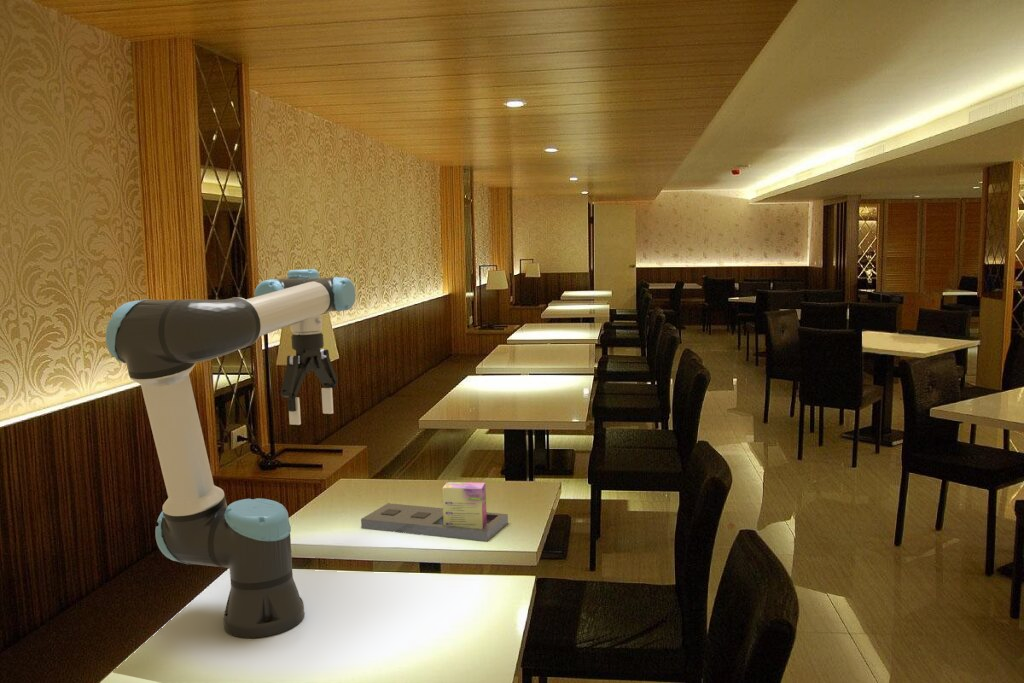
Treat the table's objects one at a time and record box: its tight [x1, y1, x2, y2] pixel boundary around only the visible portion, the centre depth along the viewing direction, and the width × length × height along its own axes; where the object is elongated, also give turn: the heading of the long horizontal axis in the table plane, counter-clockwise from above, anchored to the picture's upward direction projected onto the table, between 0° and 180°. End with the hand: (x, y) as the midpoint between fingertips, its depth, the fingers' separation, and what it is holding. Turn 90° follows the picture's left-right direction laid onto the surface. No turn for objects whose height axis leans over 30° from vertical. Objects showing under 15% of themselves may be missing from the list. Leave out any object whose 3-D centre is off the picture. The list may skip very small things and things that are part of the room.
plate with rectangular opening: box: [360, 502, 509, 542], centre depth 210 cm, size 14×36×3 cm, turn 69°
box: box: [441, 481, 488, 529], centre depth 206 cm, size 10×6×12 cm, turn 81°
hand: (312, 418), depth 196 cm, fingers open, 13 cm apart
